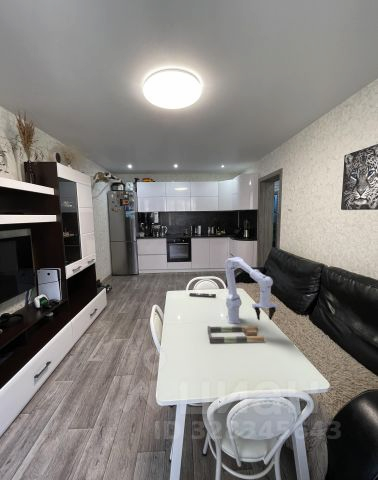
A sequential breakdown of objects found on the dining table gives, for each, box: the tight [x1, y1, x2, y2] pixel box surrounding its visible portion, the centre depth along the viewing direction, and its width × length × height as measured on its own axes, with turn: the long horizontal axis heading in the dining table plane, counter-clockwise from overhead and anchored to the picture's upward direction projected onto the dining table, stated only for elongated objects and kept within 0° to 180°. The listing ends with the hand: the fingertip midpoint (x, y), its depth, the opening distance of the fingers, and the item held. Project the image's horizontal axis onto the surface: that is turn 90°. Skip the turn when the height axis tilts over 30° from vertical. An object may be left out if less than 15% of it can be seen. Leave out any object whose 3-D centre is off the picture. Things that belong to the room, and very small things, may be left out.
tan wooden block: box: [243, 325, 258, 336], centre depth 128 cm, size 6×6×4 cm
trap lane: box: [207, 325, 265, 344], centre depth 128 cm, size 13×31×3 cm, turn 91°
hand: (264, 319), depth 127 cm, fingers open, 6 cm apart
